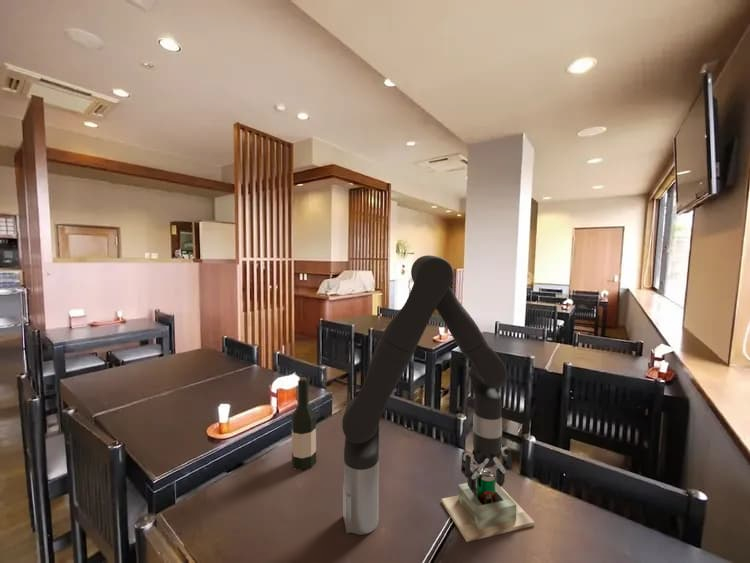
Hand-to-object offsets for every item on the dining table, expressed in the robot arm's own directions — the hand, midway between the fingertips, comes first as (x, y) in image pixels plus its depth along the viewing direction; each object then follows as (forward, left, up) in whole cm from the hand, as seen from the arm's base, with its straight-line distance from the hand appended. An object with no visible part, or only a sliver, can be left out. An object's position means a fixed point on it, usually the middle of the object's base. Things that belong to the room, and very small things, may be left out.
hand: (486, 486), depth 90 cm
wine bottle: (-48, +36, -8) cm, 61 cm away
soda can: (0, 0, -8) cm, 8 cm away
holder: (0, 0, -8) cm, 8 cm away
